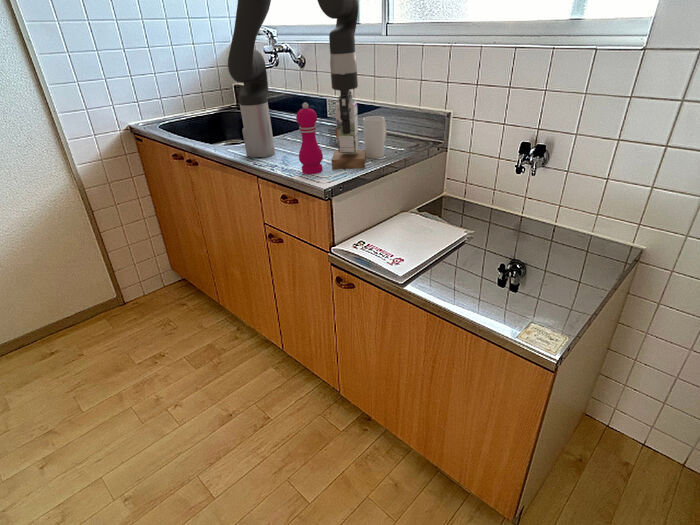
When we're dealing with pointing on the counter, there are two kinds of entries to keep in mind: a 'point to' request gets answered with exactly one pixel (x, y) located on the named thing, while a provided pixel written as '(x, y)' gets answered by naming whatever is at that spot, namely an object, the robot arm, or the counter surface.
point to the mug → (374, 136)
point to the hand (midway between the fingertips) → (347, 130)
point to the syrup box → (350, 141)
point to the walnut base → (349, 160)
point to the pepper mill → (309, 141)
